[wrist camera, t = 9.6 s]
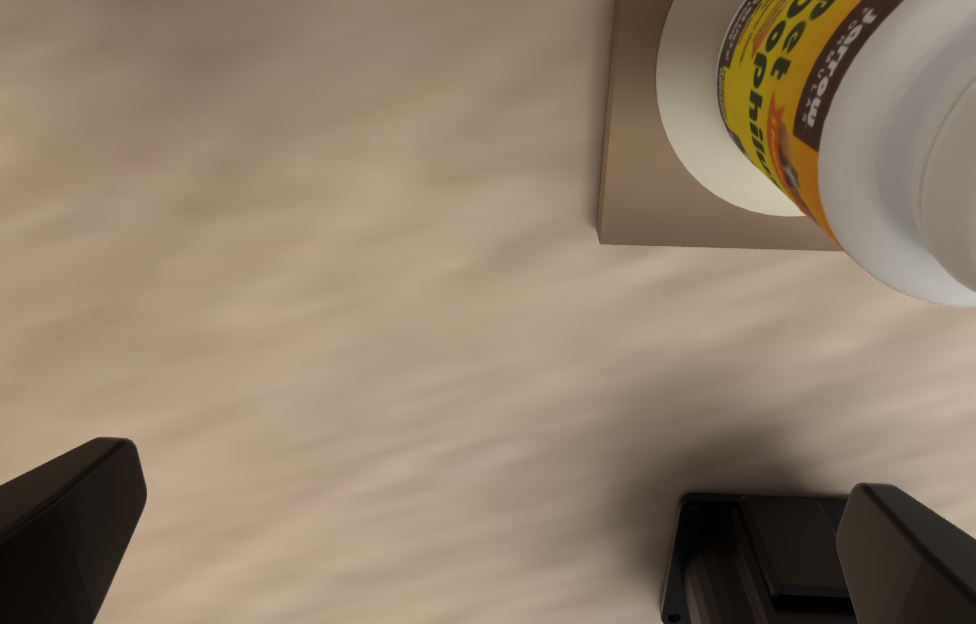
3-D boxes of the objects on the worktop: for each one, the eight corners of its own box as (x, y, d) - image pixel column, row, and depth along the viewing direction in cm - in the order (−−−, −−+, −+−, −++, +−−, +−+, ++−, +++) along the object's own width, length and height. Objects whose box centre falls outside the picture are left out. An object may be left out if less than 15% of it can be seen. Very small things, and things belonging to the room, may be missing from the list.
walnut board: (939, 239, 20) (964, 256, 19) (596, 229, 21) (600, 245, 20) (1073, -174, 16) (1115, -184, 15) (631, -175, 16) (638, -185, 15)
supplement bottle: (723, -61, 16) (981, -84, 7) (973, -66, 16) (1583, -96, 7) (694, 175, 19) (854, 386, 9) (908, 175, 18) (1286, 392, 9)
